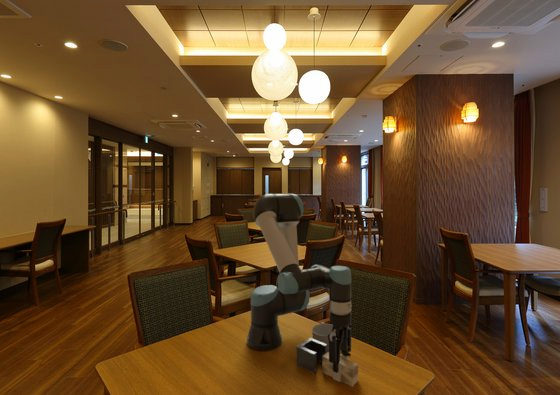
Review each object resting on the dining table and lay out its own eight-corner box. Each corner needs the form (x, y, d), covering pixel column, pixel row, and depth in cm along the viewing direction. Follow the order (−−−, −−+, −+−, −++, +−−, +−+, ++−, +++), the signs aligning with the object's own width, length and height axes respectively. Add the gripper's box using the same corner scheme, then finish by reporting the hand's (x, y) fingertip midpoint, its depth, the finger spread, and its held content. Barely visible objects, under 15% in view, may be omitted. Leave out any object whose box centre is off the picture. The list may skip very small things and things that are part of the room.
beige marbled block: (358, 381, 102) (358, 364, 102) (352, 386, 99) (352, 369, 99) (328, 367, 110) (328, 351, 110) (322, 372, 107) (322, 356, 107)
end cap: (327, 362, 113) (327, 344, 113) (314, 373, 107) (314, 354, 106) (310, 354, 119) (310, 337, 118) (296, 364, 112) (296, 346, 112)
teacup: (338, 355, 118) (338, 336, 118) (310, 353, 120) (310, 333, 120) (337, 338, 132) (337, 320, 131) (313, 336, 134) (313, 318, 133)
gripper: (337, 322, 95) (337, 394, 96) (361, 306, 108) (361, 369, 109) (317, 316, 100) (318, 384, 101) (342, 301, 113) (342, 362, 114)
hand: (340, 376), depth 105 cm, fingers closed on beige marbled block, 4 cm apart
